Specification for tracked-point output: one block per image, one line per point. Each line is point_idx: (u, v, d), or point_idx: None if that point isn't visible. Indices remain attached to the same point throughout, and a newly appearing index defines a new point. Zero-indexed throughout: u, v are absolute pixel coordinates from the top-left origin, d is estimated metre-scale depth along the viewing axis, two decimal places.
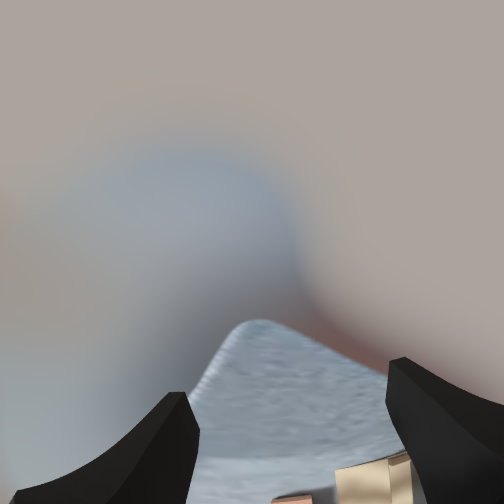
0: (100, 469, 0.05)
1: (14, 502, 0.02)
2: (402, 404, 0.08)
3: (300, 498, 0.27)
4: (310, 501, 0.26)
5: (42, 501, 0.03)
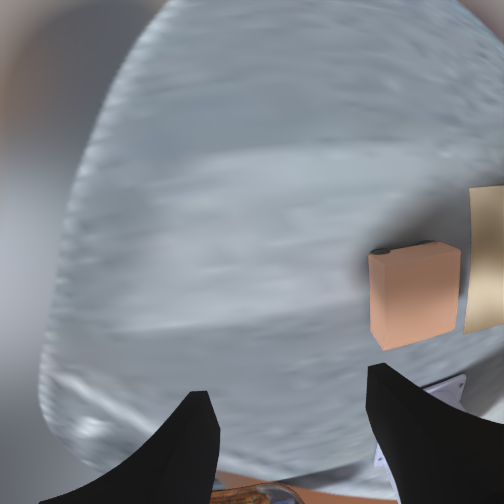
0: (128, 474, 0.05)
1: None
2: (380, 411, 0.08)
3: (433, 250, 0.14)
4: (458, 257, 0.13)
5: None
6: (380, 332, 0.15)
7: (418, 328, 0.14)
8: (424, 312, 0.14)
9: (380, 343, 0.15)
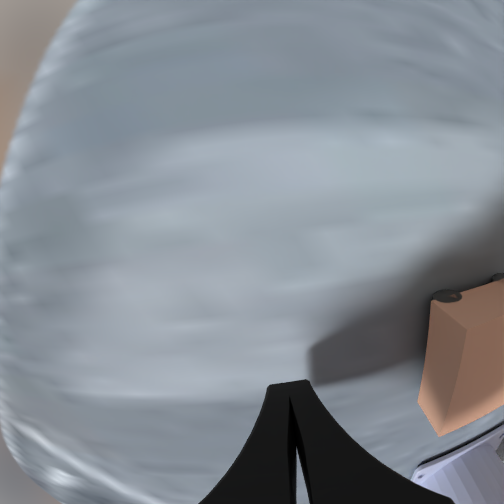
0: (247, 480, 0.05)
1: None
2: (295, 429, 0.08)
3: None
4: None
5: None
6: (437, 413, 0.08)
7: (486, 402, 0.08)
8: (498, 381, 0.07)
9: (433, 425, 0.08)
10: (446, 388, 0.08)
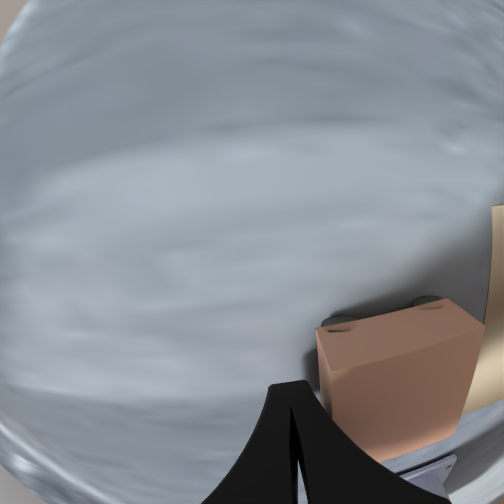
0: (249, 480, 0.05)
1: None
2: (293, 429, 0.08)
3: (435, 324, 0.07)
4: (479, 338, 0.07)
5: None
6: None
7: (393, 445, 0.08)
8: (406, 425, 0.07)
9: None
10: None
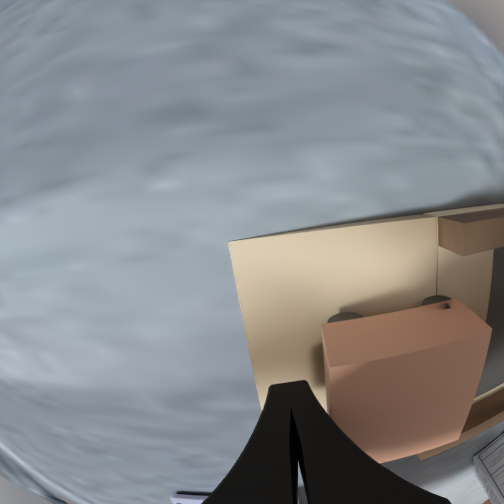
0: (249, 480, 0.05)
1: None
2: (293, 429, 0.08)
3: (441, 325, 0.07)
4: (486, 341, 0.06)
5: None
6: None
7: (394, 447, 0.07)
8: (408, 427, 0.07)
9: None
10: None
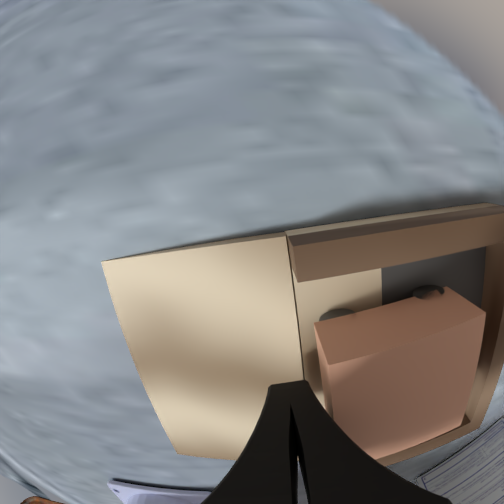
0: (248, 480, 0.05)
1: None
2: (294, 429, 0.08)
3: (435, 314, 0.07)
4: (480, 326, 0.06)
5: None
6: None
7: (398, 438, 0.07)
8: (410, 418, 0.07)
9: None
10: None
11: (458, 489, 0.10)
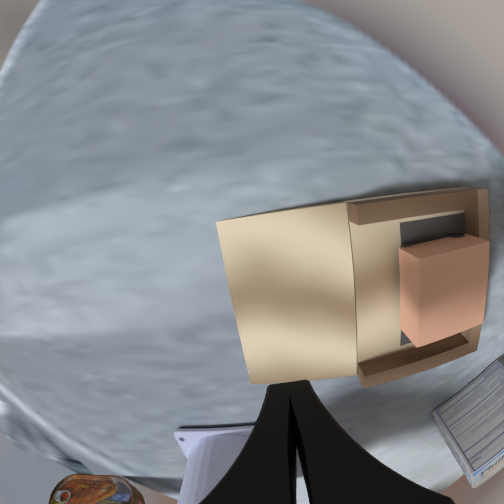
0: (247, 481, 0.05)
1: None
2: (295, 429, 0.08)
3: (462, 242, 0.13)
4: (487, 248, 0.12)
5: None
6: (412, 329, 0.14)
7: (450, 323, 0.13)
8: (456, 306, 0.13)
9: (412, 340, 0.14)
10: (415, 306, 0.13)
11: (467, 416, 0.16)
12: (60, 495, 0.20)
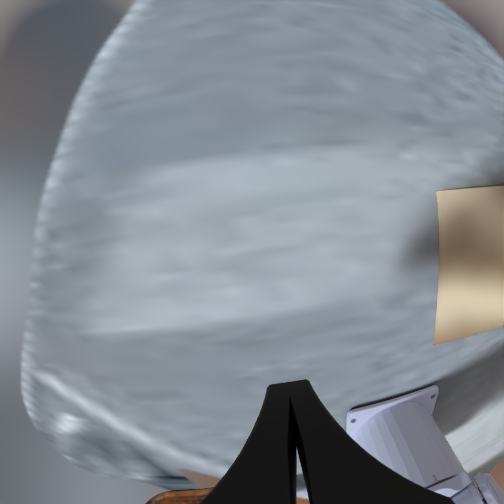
0: (247, 481, 0.05)
1: None
2: (295, 429, 0.08)
3: None
4: None
5: None
6: None
7: None
8: None
9: None
10: None
11: None
12: None
